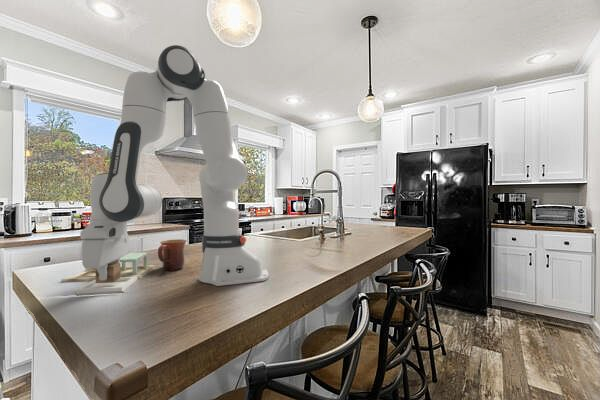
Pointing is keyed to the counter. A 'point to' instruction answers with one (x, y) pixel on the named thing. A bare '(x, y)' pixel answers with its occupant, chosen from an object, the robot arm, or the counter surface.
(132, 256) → the green stool
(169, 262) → the mug
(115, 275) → the block
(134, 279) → the dish
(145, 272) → the board
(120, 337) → the counter surface
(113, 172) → the robot arm
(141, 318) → the counter surface
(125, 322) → the counter surface
